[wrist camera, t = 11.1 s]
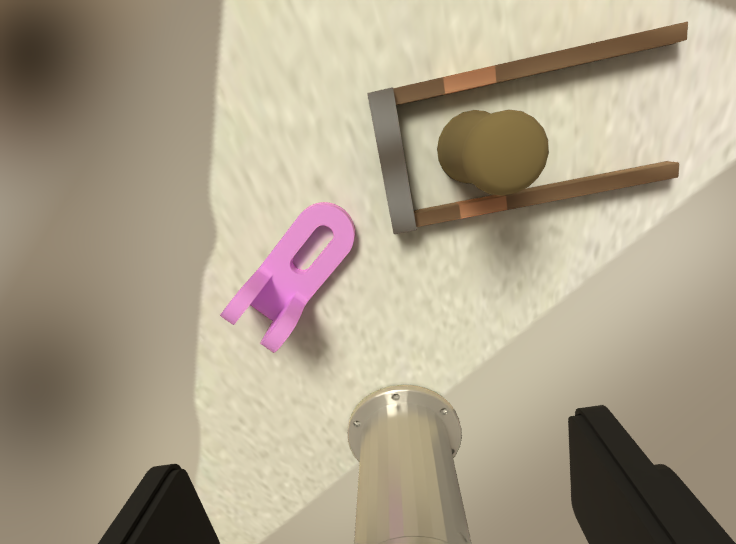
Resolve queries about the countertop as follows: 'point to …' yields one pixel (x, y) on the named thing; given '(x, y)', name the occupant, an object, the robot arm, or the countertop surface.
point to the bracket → (293, 273)
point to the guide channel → (389, 98)
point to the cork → (494, 150)
